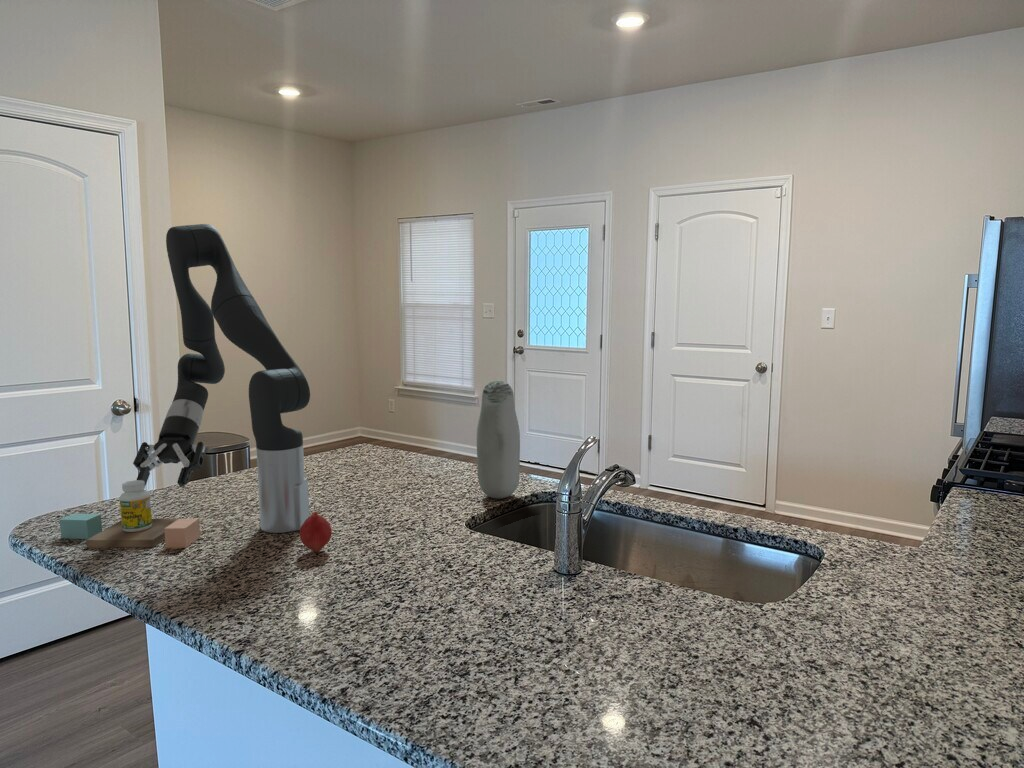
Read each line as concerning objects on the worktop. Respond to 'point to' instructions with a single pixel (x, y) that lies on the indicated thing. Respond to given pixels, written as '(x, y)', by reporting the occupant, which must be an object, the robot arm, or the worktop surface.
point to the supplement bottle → (135, 507)
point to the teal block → (80, 526)
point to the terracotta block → (182, 533)
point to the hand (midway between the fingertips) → (160, 485)
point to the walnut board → (130, 536)
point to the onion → (315, 532)
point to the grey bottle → (498, 441)
